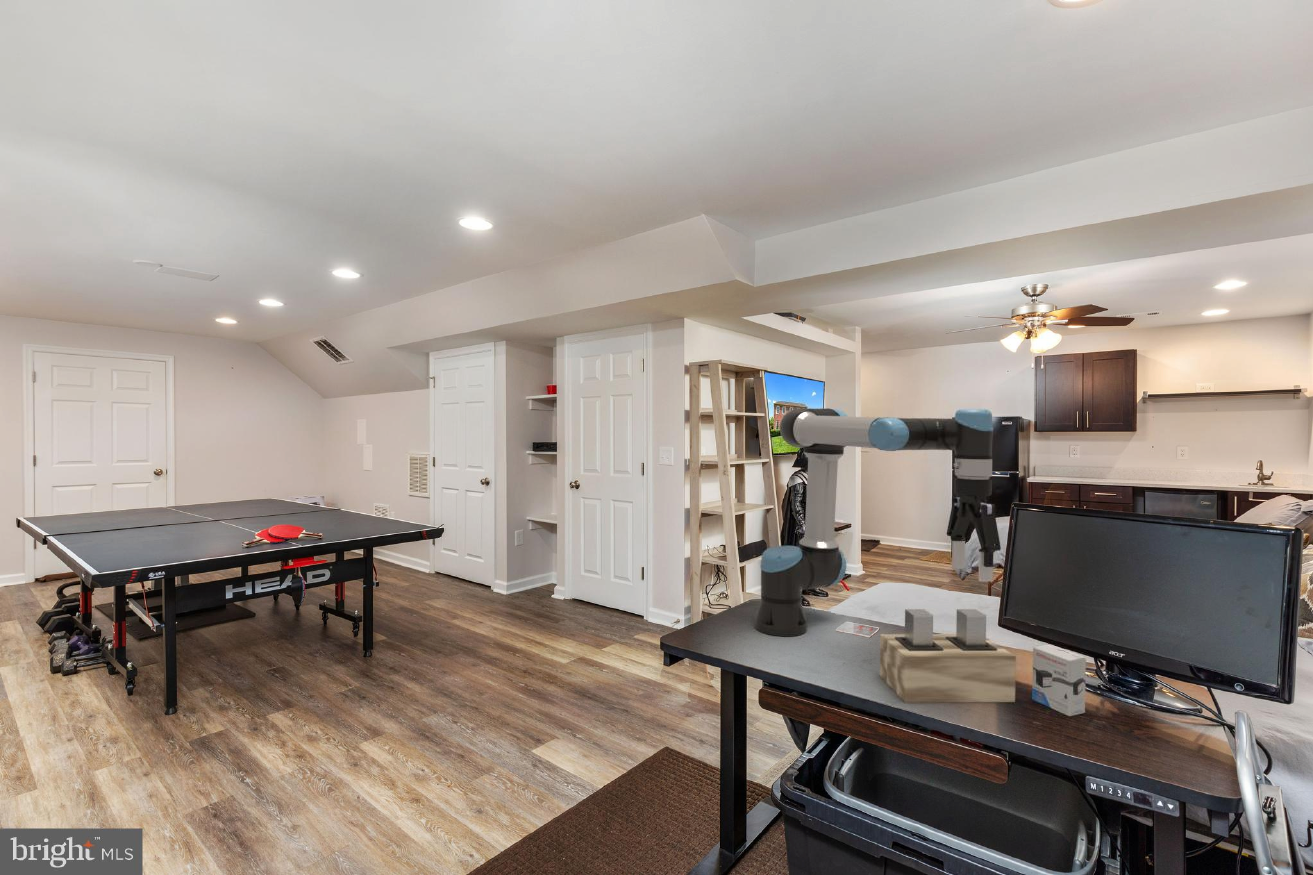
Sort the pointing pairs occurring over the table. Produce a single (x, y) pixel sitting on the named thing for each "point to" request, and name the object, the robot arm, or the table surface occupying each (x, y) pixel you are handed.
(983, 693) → the socket block
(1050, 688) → the ink box
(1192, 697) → the table surface
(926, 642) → the peg
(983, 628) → the peg
